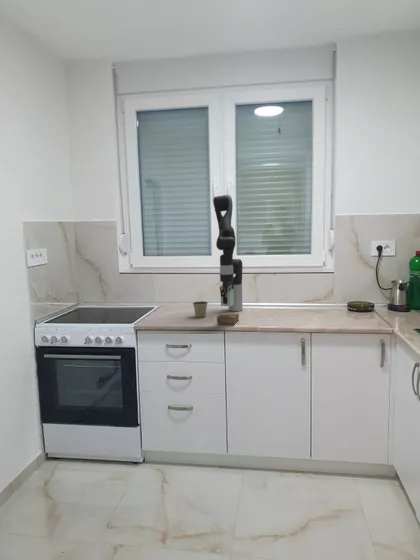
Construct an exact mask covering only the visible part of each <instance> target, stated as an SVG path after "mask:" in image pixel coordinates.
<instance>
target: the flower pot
mask: <svg viewBox="0 0 420 560" xmlns="http://www.w3.org/2000/svg"><path fill="white" fill-rule="evenodd" d="M208 303H209V302H208V301H205V300H204V301H202V300H201V301H194V302H192V305H193V308H194V309H193V310H194V313H195V317H196V318H198V317H202V318H206V317H207V307H208V305H209V304H208ZM205 316H206V317H205Z"/></svg>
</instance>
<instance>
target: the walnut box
mask: <svg viewBox="0 0 420 560" xmlns="http://www.w3.org/2000/svg"><path fill="white" fill-rule="evenodd" d="M238 321H239V322H240V314H239V313H235V312H233V313H232V312H229V313H228V312H222V313H220V314H219V315H217V316H216V322H217V323H216V324H218V325H217V326H227V325H235V324H236V323H237V322H238ZM239 322H238V323H239ZM238 323H237V324H238ZM237 324H236V325H237ZM236 325H235V326H236Z"/></svg>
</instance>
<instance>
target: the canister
mask: <svg viewBox="0 0 420 560" xmlns="http://www.w3.org/2000/svg"><path fill="white" fill-rule="evenodd" d="M222 294H223V293H222ZM225 294H226V293H225ZM232 305H234V289H231V290H229V291H228V293H227V304H223V297H221V296H220V307H228V306H232Z"/></svg>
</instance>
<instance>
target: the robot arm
mask: <svg viewBox="0 0 420 560" xmlns="http://www.w3.org/2000/svg"><path fill="white" fill-rule="evenodd" d="M213 207H214V208H213V209H214V211H215V216H216V221H217V225H218V237H217V239H216V243H215V245H216V248H217V250H219V251H222V254H220V257H219V281H220V282H221V283H222V284H221V285H220V286H219V293H220V298H221V297H223V304H227V293H228V291H229V290H231V289H234V305H232V306H227V307H228V311H229V310H230V312H241V311H243V261H242V260H241V259H240V258H233V257H234V256H233V255H234V250H235V247H236V234H235V229H234V228H233V227H232V217H233V216H232V215H233V199H232V196H231V195H230V194H224V195H218V196H214V197H213ZM223 212H225V213H224V215H223V214H222V213H223ZM234 274H235V276H234ZM222 293H223V294H222ZM225 293H226V294H225Z"/></svg>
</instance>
